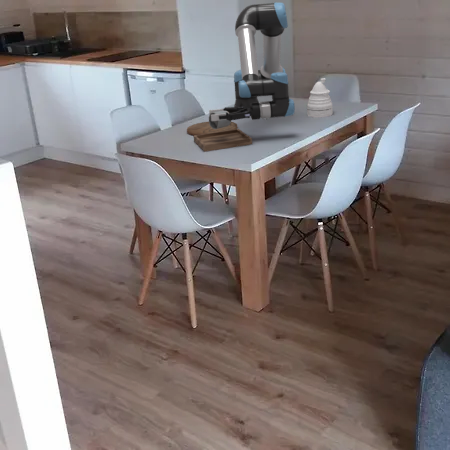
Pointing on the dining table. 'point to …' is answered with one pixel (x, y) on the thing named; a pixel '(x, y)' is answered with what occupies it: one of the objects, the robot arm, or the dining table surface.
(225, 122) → the ceramic mug
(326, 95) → the honey pot
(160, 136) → the dining table surface
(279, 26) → the robot arm
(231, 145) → the walnut tray
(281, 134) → the dining table surface
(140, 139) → the dining table surface
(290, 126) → the dining table surface
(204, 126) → the trivet
